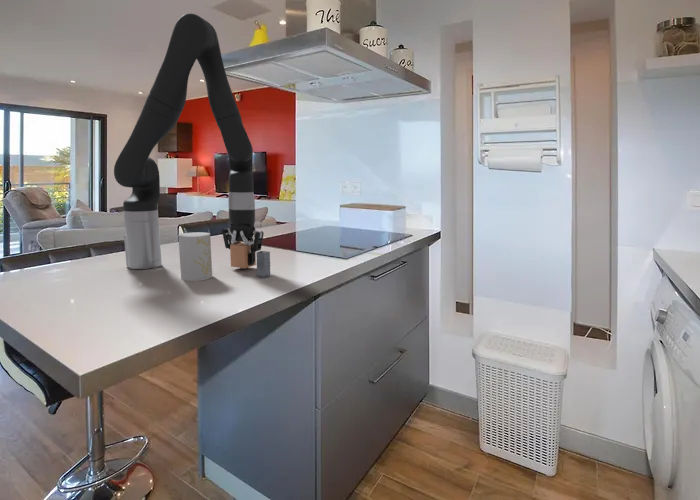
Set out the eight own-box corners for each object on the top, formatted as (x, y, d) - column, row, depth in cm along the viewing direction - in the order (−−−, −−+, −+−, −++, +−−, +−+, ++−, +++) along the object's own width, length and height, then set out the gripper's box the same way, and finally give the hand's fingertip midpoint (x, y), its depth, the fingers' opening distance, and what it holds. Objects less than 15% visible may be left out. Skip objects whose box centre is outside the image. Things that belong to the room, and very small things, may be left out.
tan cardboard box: (230, 266, 126) (230, 244, 125) (242, 263, 131) (241, 242, 130) (244, 268, 124) (244, 246, 123) (255, 265, 129) (255, 243, 128)
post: (257, 277, 118) (256, 252, 116) (262, 275, 120) (262, 250, 119) (264, 278, 117) (264, 253, 115) (270, 276, 119) (269, 251, 118)
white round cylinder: (202, 281, 112) (199, 237, 110) (174, 279, 114) (171, 235, 112) (217, 274, 120) (215, 232, 118) (191, 273, 122) (189, 231, 120)
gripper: (213, 207, 124) (216, 263, 127) (253, 209, 118) (255, 268, 121) (231, 205, 131) (232, 259, 134) (269, 207, 125) (270, 264, 128)
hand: (243, 263), depth 127 cm, fingers closed on tan cardboard box, 5 cm apart
